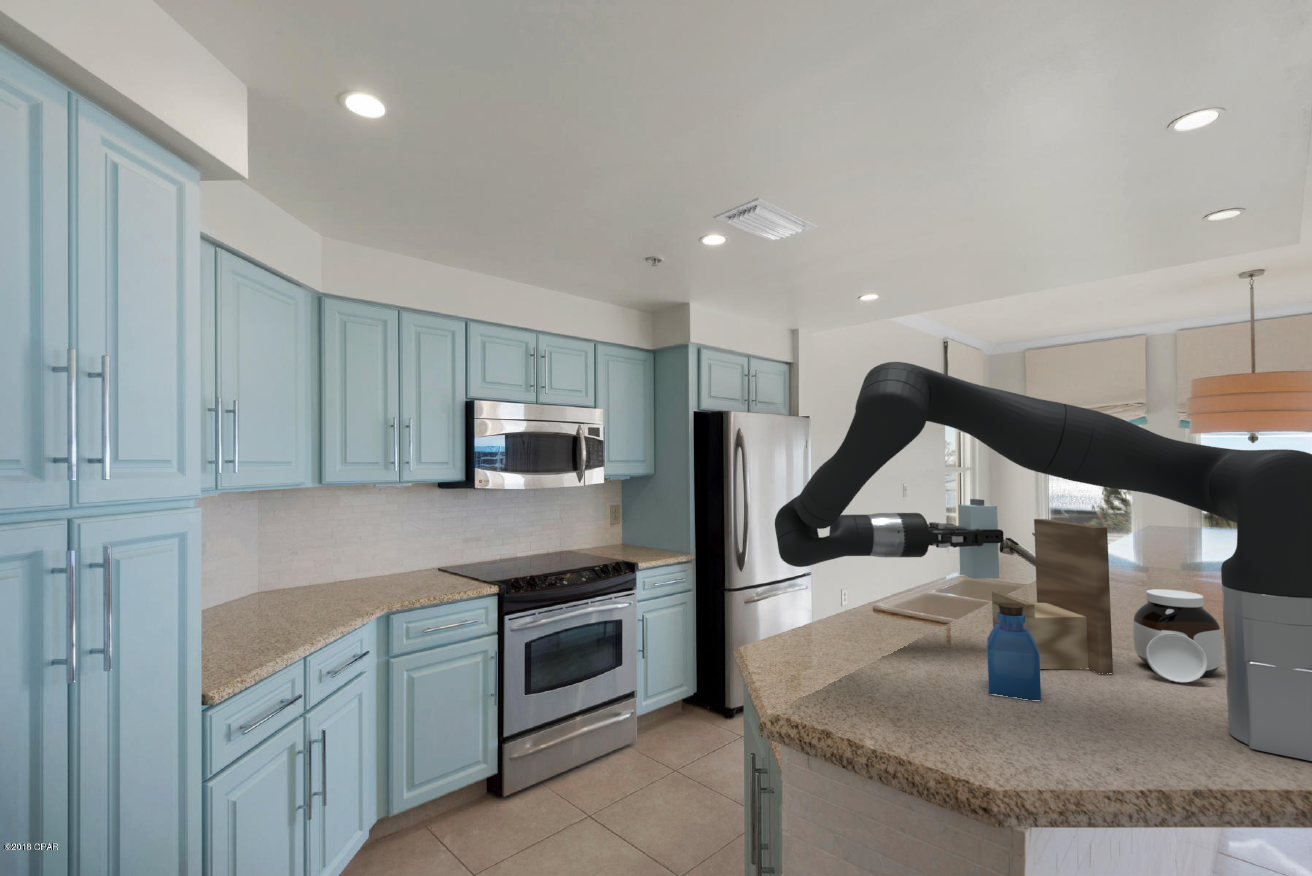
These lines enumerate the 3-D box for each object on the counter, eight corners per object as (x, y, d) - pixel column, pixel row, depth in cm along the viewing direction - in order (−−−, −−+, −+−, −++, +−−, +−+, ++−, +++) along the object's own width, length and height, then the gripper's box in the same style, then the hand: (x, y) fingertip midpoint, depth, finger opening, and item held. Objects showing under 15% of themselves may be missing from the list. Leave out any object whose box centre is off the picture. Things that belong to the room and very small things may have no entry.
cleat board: (1039, 675, 95) (1033, 528, 95) (985, 646, 110) (981, 519, 110) (1113, 674, 95) (1107, 527, 96) (1049, 645, 110) (1045, 518, 111)
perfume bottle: (988, 694, 87) (986, 607, 88) (988, 681, 93) (986, 598, 93) (1041, 702, 84) (1038, 611, 85) (1037, 687, 90) (1034, 602, 90)
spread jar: (1194, 663, 100) (1190, 588, 100) (1254, 688, 88) (1250, 604, 89) (1113, 661, 101) (1110, 588, 101) (1163, 686, 90) (1159, 603, 90)
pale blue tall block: (972, 578, 105) (970, 500, 105) (960, 573, 109) (958, 498, 110) (999, 578, 105) (996, 500, 105) (985, 573, 109) (983, 498, 110)
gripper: (909, 516, 100) (1017, 515, 100) (878, 509, 115) (973, 509, 114) (910, 563, 100) (1019, 563, 100) (879, 551, 114) (974, 550, 114)
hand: (993, 534), depth 107 cm, fingers closed on pale blue tall block, 4 cm apart
